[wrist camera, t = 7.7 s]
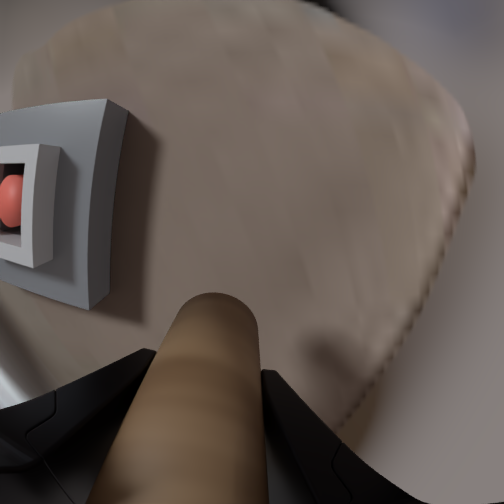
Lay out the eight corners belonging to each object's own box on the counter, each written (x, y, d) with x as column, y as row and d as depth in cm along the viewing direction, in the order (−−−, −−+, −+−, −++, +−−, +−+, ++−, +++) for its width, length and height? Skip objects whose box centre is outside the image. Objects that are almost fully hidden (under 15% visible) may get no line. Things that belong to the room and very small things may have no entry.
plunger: (53, 222, 15) (24, 230, 12) (24, 217, 15) (-4, 224, 12) (56, 174, 14) (27, 175, 12) (26, 173, 14) (-1, 174, 11)
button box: (110, 292, 17) (72, 324, 12) (2, 261, 17) (-36, 278, 12) (128, 110, 15) (89, 88, 10) (11, 120, 14) (-30, 113, 9)
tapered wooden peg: (250, 369, 10) (254, 575, 2) (173, 356, 10) (102, 546, 2) (264, 299, 10) (299, 546, 2) (178, 285, 9) (50, 493, 2)
